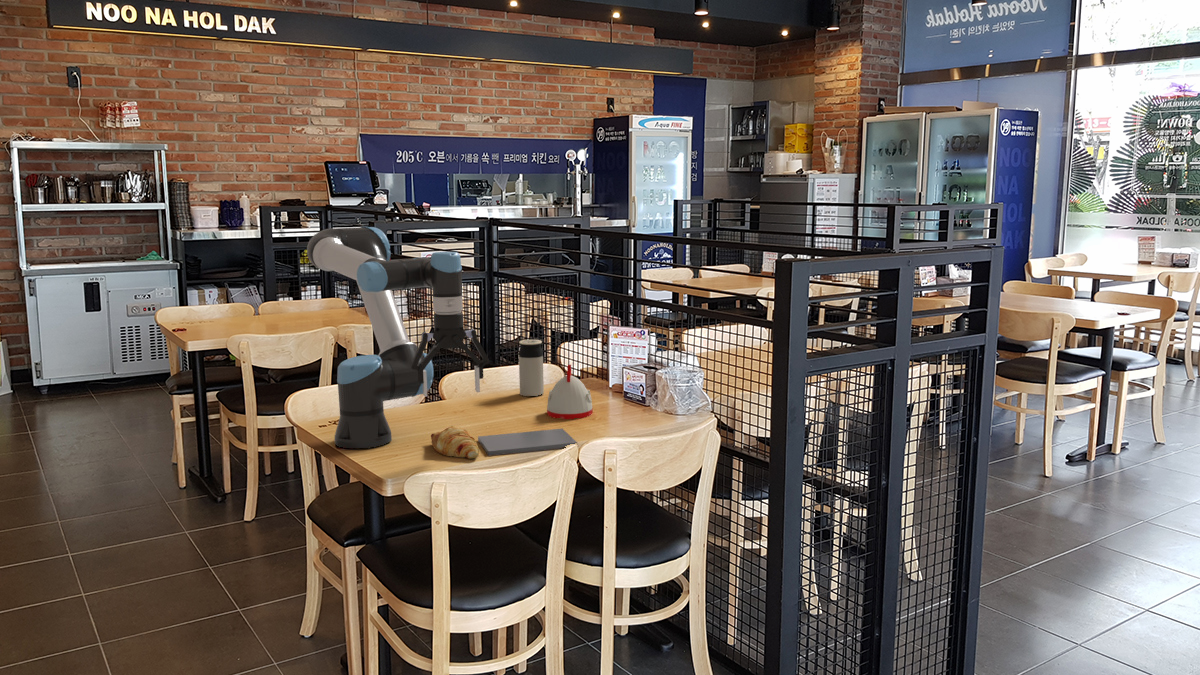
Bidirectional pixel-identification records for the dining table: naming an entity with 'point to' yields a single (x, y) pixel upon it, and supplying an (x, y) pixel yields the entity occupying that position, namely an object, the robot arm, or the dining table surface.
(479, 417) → the dining table surface
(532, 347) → the travel mug
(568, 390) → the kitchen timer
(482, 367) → the robot arm
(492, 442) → the slate board
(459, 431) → the croissant
